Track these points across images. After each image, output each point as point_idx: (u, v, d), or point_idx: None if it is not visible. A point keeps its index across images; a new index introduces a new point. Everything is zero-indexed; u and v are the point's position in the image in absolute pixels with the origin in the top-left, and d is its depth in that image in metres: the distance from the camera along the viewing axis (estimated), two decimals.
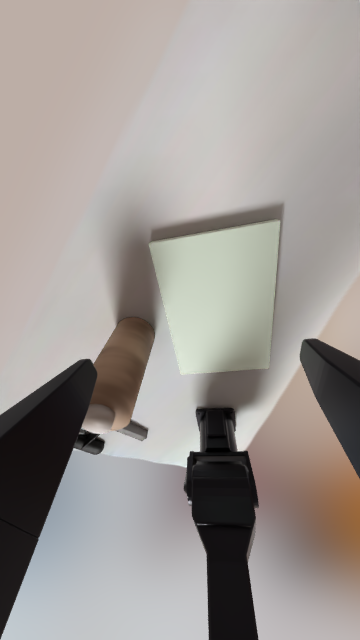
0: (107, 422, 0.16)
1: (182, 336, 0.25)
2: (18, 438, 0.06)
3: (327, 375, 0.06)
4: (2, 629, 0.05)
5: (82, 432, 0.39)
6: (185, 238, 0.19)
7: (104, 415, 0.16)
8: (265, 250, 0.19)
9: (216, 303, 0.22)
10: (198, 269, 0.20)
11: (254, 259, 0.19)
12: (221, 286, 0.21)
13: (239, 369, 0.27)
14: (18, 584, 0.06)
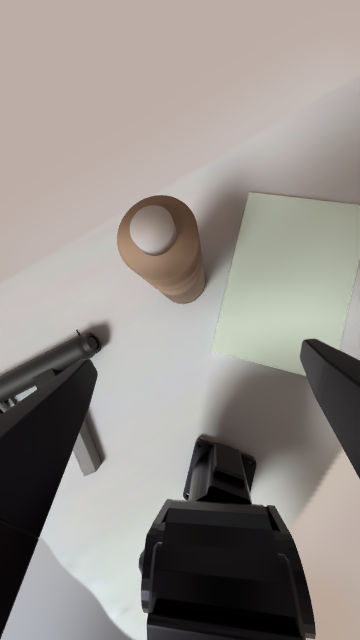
0: (172, 224, 0.11)
1: (237, 293, 0.21)
2: (18, 438, 0.06)
3: (327, 375, 0.06)
4: (2, 629, 0.05)
5: None
6: (283, 196, 0.21)
7: (172, 219, 0.11)
8: (353, 227, 0.20)
9: (290, 266, 0.21)
10: (284, 225, 0.21)
11: (341, 232, 0.20)
12: (301, 249, 0.21)
13: (291, 369, 0.20)
14: (18, 584, 0.06)
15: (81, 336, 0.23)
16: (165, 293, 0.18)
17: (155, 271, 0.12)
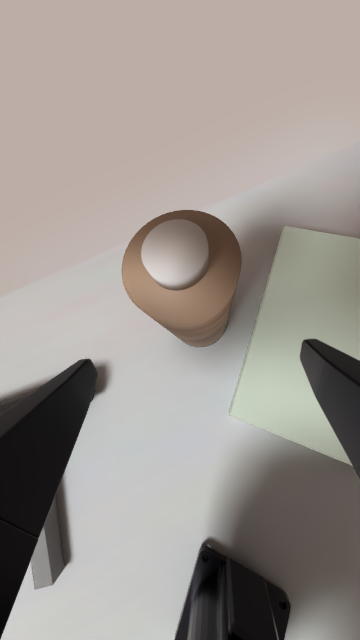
0: (206, 248, 0.07)
1: (268, 342, 0.17)
2: (18, 438, 0.06)
3: (327, 375, 0.06)
4: (2, 629, 0.05)
5: None
6: (326, 233, 0.18)
7: (206, 240, 0.08)
8: None
9: (337, 314, 0.16)
10: (328, 266, 0.17)
11: None
12: (351, 295, 0.17)
13: (343, 458, 0.14)
14: (18, 584, 0.06)
15: None
16: (178, 336, 0.14)
17: (172, 313, 0.08)
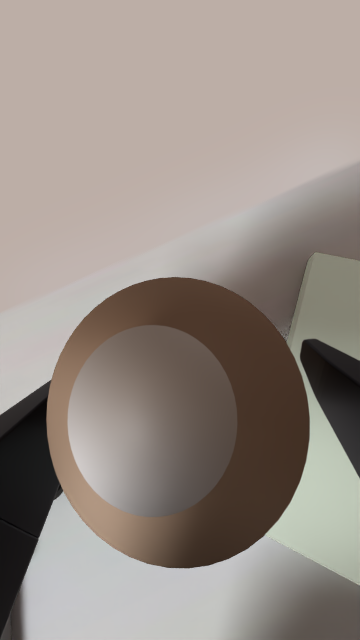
0: (233, 422, 0.03)
1: None
2: (18, 438, 0.06)
3: (327, 375, 0.06)
4: (2, 629, 0.05)
5: None
6: None
7: None
8: None
9: None
10: None
11: None
12: None
13: None
14: (18, 584, 0.06)
15: None
16: None
17: (147, 541, 0.03)
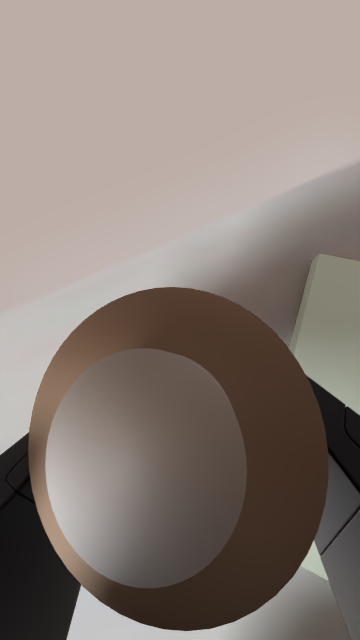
0: (242, 472, 0.02)
1: None
2: None
3: None
4: (65, 638, 0.05)
5: None
6: None
7: (236, 419, 0.03)
8: None
9: None
10: None
11: None
12: None
13: None
14: (76, 589, 0.05)
15: None
16: None
17: (140, 596, 0.03)
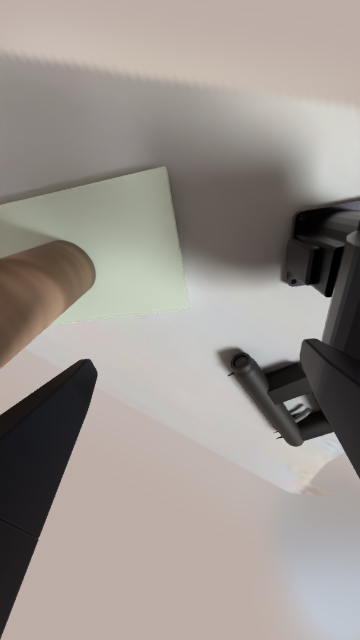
0: None
1: (124, 305, 0.21)
2: (18, 438, 0.06)
3: (327, 375, 0.06)
4: (2, 629, 0.05)
5: (307, 411, 0.28)
6: None
7: None
8: None
9: None
10: None
11: (8, 233, 0.18)
12: None
13: (171, 223, 0.16)
14: (18, 584, 0.06)
15: (235, 372, 0.24)
16: (63, 306, 0.15)
17: None
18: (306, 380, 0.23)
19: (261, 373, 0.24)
